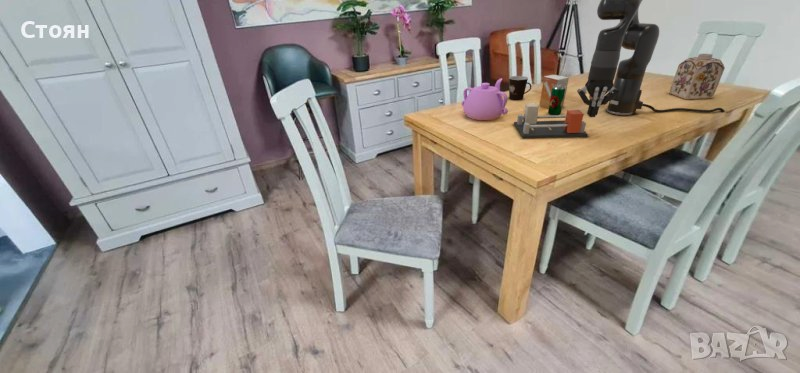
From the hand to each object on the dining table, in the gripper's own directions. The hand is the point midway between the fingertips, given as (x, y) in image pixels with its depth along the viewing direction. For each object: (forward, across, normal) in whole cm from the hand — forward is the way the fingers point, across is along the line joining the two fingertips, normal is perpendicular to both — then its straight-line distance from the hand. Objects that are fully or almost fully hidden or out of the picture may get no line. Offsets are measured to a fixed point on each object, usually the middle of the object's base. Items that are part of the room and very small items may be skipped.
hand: (591, 116), depth 116 cm
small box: (+7, -2, +35) cm, 36 cm away
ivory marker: (+5, -18, +10) cm, 21 cm away
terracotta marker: (+5, -6, 0) cm, 8 cm away
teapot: (+7, -32, +26) cm, 42 cm away
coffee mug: (+7, -14, +48) cm, 50 cm away
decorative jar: (+6, +62, +45) cm, 77 cm away
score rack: (+7, -12, +5) cm, 15 cm away
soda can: (+7, -4, +24) cm, 25 cm away
